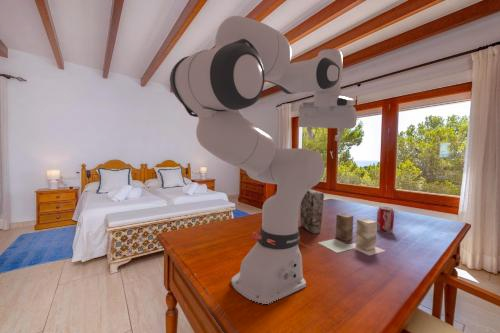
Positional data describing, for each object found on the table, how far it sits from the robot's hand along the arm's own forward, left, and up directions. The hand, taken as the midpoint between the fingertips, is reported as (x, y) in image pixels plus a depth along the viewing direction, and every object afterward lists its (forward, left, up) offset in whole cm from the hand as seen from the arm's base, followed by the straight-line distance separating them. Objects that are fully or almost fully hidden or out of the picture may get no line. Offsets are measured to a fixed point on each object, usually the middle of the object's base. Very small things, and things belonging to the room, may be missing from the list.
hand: (324, 139), depth 79 cm
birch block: (+17, -11, -43) cm, 47 cm away
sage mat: (+10, -2, -43) cm, 44 cm away
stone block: (+21, +16, -43) cm, 51 cm away
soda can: (+47, -11, -43) cm, 65 cm away
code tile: (+17, -11, -43) cm, 48 cm away
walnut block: (+21, -1, -43) cm, 48 cm away
